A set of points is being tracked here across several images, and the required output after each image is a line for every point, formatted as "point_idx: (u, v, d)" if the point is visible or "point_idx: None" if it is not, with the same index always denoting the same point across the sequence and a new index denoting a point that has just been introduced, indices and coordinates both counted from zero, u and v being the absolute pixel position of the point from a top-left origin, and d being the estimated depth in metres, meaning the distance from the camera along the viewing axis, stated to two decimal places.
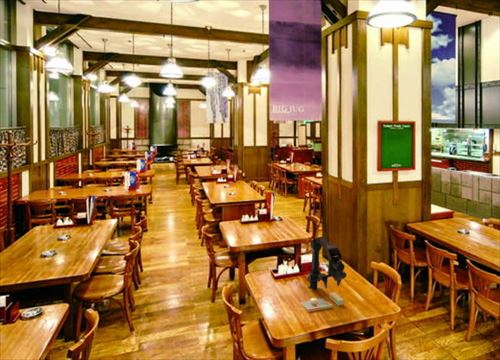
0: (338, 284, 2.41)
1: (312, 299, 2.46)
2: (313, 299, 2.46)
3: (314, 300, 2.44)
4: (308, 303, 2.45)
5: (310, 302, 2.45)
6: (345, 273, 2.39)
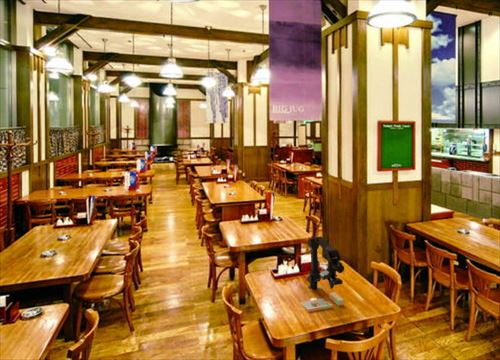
0: (330, 286, 2.45)
1: (312, 299, 2.46)
2: (313, 299, 2.46)
3: (314, 300, 2.44)
4: (308, 303, 2.45)
5: (310, 302, 2.45)
6: (335, 281, 2.35)
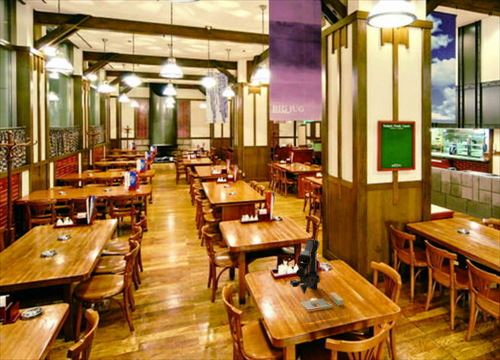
0: (304, 291, 2.41)
1: (312, 299, 2.46)
2: (313, 299, 2.46)
3: (314, 300, 2.44)
4: (308, 303, 2.45)
5: (310, 302, 2.45)
6: (317, 279, 2.40)
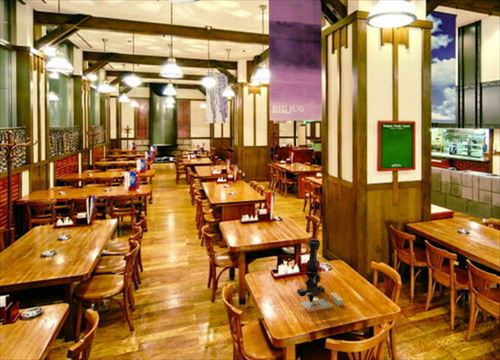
0: (311, 300, 2.44)
1: (313, 299, 2.46)
2: (314, 299, 2.46)
3: (315, 300, 2.45)
4: (308, 303, 2.45)
5: None
6: (323, 289, 2.43)
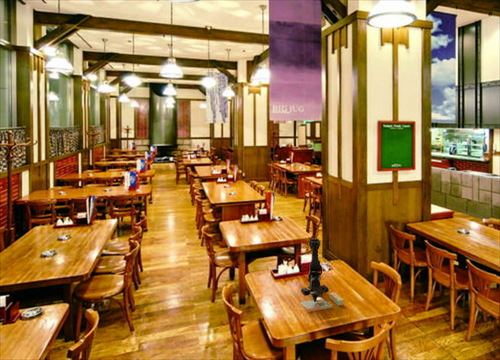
0: (315, 299, 2.45)
1: (317, 298, 2.47)
2: (318, 298, 2.47)
3: (319, 299, 2.45)
4: (308, 303, 2.45)
5: None
6: (327, 288, 2.44)
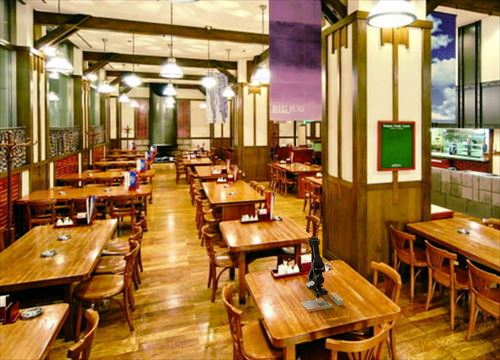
0: (316, 296, 2.49)
1: (318, 298, 2.46)
2: (319, 298, 2.46)
3: (320, 299, 2.45)
4: (308, 303, 2.45)
5: (316, 301, 2.46)
6: (320, 291, 2.39)
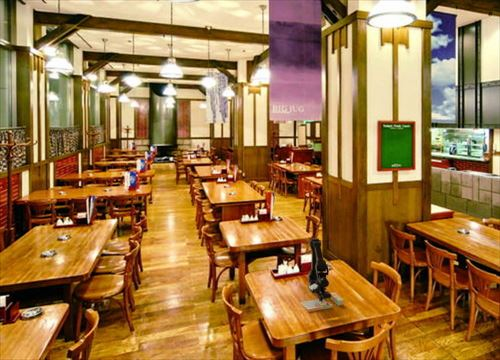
0: (319, 299, 2.45)
1: (321, 301, 2.42)
2: (322, 302, 2.42)
3: (323, 303, 2.41)
4: (308, 303, 2.45)
5: (319, 304, 2.42)
6: (323, 294, 2.35)
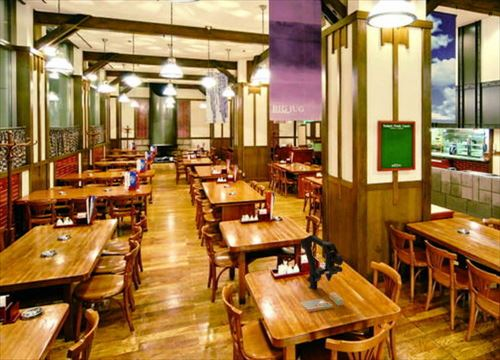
0: (329, 279, 2.53)
1: (321, 301, 2.42)
2: (322, 302, 2.42)
3: (323, 303, 2.41)
4: (308, 303, 2.45)
5: (319, 305, 2.42)
6: (341, 268, 2.53)
